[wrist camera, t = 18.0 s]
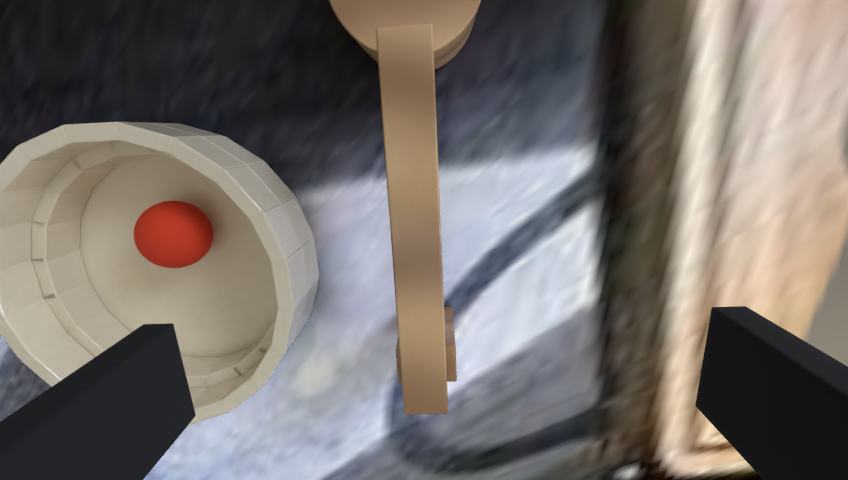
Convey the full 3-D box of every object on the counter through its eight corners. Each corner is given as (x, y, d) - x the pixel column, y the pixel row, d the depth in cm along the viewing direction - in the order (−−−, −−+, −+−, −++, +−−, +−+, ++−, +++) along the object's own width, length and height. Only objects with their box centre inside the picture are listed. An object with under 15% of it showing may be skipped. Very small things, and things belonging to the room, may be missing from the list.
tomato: (157, 176, 21) (100, 228, 20) (202, 204, 20) (145, 261, 18) (197, 213, 24) (151, 260, 23) (239, 239, 23) (192, 290, 22)
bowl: (30, 131, 22) (-81, 132, 18) (303, 117, 22) (265, 113, 17) (103, 374, 27) (29, 428, 22) (334, 368, 26) (310, 422, 21)
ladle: (343, -63, 19) (290, -170, 13) (474, -73, 19) (496, -187, 12) (378, 337, 25) (356, 416, 18) (480, 334, 25) (496, 413, 18)
